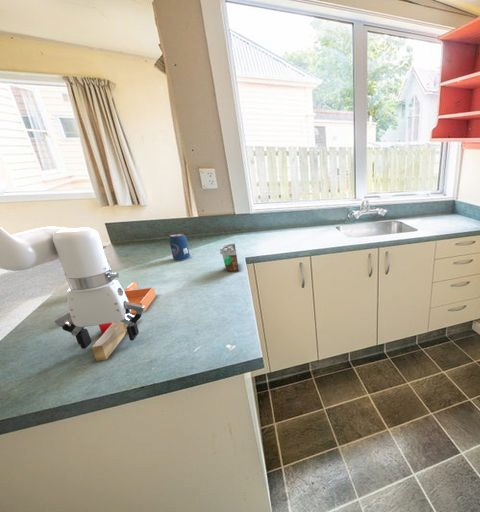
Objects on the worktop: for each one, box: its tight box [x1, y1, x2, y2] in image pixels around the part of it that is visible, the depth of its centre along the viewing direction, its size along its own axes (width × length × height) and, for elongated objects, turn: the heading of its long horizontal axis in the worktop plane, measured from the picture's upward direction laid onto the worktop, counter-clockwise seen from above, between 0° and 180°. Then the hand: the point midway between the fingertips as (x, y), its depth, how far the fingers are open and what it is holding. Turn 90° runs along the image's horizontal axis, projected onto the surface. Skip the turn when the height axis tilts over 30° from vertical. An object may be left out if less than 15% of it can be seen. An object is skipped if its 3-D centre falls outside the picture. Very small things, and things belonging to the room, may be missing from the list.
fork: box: [91, 321, 138, 362], centre depth 78 cm, size 4×18×4 cm, turn 22°
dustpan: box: [123, 281, 156, 315], centre depth 100 cm, size 22×17×3 cm
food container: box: [219, 243, 240, 273], centre depth 129 cm, size 12×6×10 cm, turn 27°
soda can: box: [168, 233, 191, 262], centre depth 142 cm, size 7×7×12 cm
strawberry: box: [98, 322, 114, 336], centre depth 82 cm, size 3×3×4 cm
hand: (111, 341), depth 76 cm, fingers open, 9 cm apart
